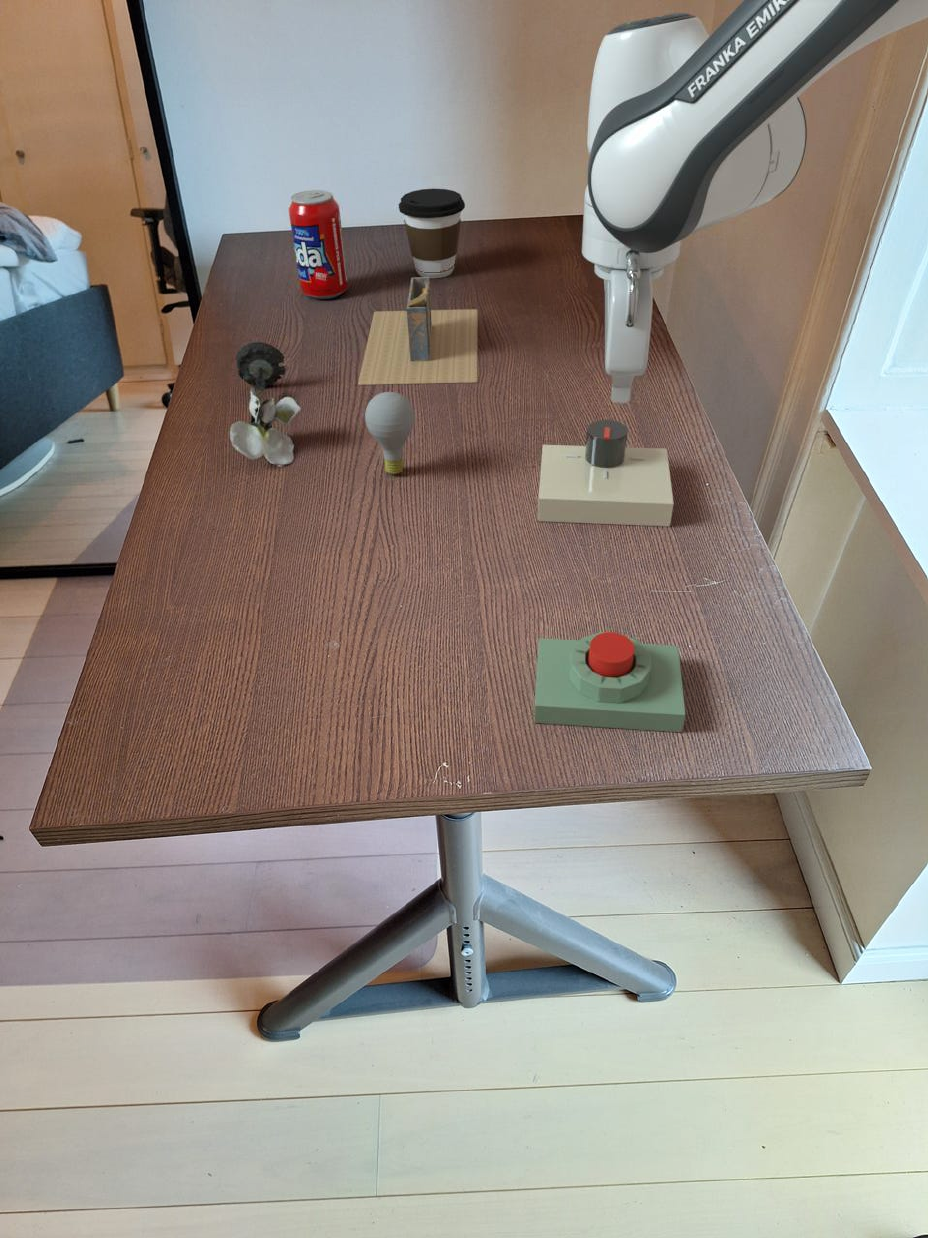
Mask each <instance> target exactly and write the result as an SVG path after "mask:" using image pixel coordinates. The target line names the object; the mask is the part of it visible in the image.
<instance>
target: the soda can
mask: <svg viewBox="0 0 928 1238" xmlns="http://www.w3.org/2000/svg"><path fill="white" fill-rule="evenodd" d="M290 201H291V203H290V205H289V207H288V216H289V223H290V229H291V235H292V241H293V248H294V249H293V250H294V255H295V261H296V267H297V273H298V279H299V280H298V281H299V286H300V291H301V292H302V293H303V294H304V295H306V296H307V297H310V298H313V299H316V300H328V299H334V298H336V297H339V296H341V295H342V294H343V293H345V292H346V291H347V290H348V288H349V277H348V269H347V261H346V252H345V244H344V235H343V228H342V227H343V226H342V217H341V211H340V206H339V203H338V202H337V201H336V200H335V198H334V193H332V192H331V191H329V190H323V189H322V190H321V189H313V190H311V189H310V190H304V191H300V192H299V191H298V192H297V193H295V194H292V196H291V197H290Z"/></svg>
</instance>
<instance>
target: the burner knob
mask: <svg viewBox="0 0 928 1238" xmlns="http://www.w3.org/2000/svg"><path fill="white" fill-rule="evenodd" d="M628 432H629V431H628V427H627V426H626V425H625V424H624V423H622V422H620V421H617V420H613V419H600V420H595V421H593V422H591V423H589V425H587V427H586V437H585V446H586V448H585V459H586V461H587V462H588V463H590V464H591V465H594V466H596V467H601V468H611V467H616V466H618V465H620V464H622V463H623V461H624V459H625V451H626V447H627V441H628Z"/></svg>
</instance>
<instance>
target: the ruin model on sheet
mask: <svg viewBox="0 0 928 1238" xmlns="http://www.w3.org/2000/svg"><path fill="white" fill-rule="evenodd" d="M431 303H432V302H431V286H430V278H429V277H422V276H420V277H419V276H418V277H416V276H415V277H411V278H410V284H409V290H408V296H407V304H406V310H383V311H381V310H380V311H373V316H372V321H371V325H370V329H369V333H368V337H367V343H366V347H365V351H364V355H363V359H362V363H361V368H360V373H359V377H358V383H357V385H358V386H362V385H365V386H366V385H408V384H409V385H412V384H414V385H415V384H416V385H417V384H419V385H420V384H460V383H462V384H466V383H468V384H469V383H470V384H471V383H478V334H479V333H478V328H479V327H478V323H479V322H478V320H479V319H478V318H479V317H478V315H479V314H478V310H479V309H477V308H476V309H475V308H473V309H471V308H469V309H467V308H466V309H432V304H431Z"/></svg>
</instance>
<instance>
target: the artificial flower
mask: <svg viewBox="0 0 928 1238" xmlns="http://www.w3.org/2000/svg"><path fill="white" fill-rule="evenodd" d="M235 356H236V358H235V360H236V361H235V362H236V366H237V374H238V376H239V377H240V379H241V380H243V381H244V382H245V383H247V384H248V385H250V386H253V387H251V388H250V390H249V391H250V392H249V393H250V400H249V403H248V410H249V413H250V414H251V415H250V421H249V422H248V423H247V422H245V421H243V420H242V421H239V420H238V421H234V422H233V423H232V424H231V425H230V430H229V439H230V443H231V445H232V447H234V449H235V450H236V451H237V452H239V453H240V454H241V455H243V456H245V457H246V458H247V459H248V460H257V459H259V458H261V457H262V456H264V457H265V459H266V460H267V462H269V463H270V464H272V465H276V467H279V468H281V467H282V468H283V467H284V466H285V465H291V463H293V461H294V459H295V456H294V448H295V445H294V443H293V441H292V438H291V437H290V436H289V435H288V434H285V433H283V432H282V431H281V430H279V428H278V427H277V428H276V427H273V424H274V422H276V423H277V424H278V425H279V426H282V427H287V426H288V425H290V424H292V422H293V420H294V419H295V417H296V415H297V414H298V413H299V412H300V411H301V410H302V408H301V406H300V405H298V403H297V402H296V400H295V399H294V398H293V397H291V396H285V397H283V398H281V399H280V400H279V401H278V402H277V403H275V398H274V397H271V399H268V398H267V399H265V400H263V402H262V403H261V398H262V393H263V392H264V390H265V388H266V386H273V385H274V384H276V383H277V382H278V381H279V380H281V379H282V377H283V376H285V374H286V370H287V369H286V366H285V365H281V366H280V364H282V363H285V357H286V356H285V355H284V354H283V353H282V352H281V351H280V349H278V348H277V347H276V346H275V347H274V346H273V345H271V344H269V343H267V342H262V341H258V342H257V341H256V342H251V343H247V344H245V345H244V346H243V347H241V349H240V350H238V352H237V354H236V355H235ZM254 387H255V388H256V389H257V392H256V391H255V388H254ZM244 394H245V393H243V395H244Z"/></svg>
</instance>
